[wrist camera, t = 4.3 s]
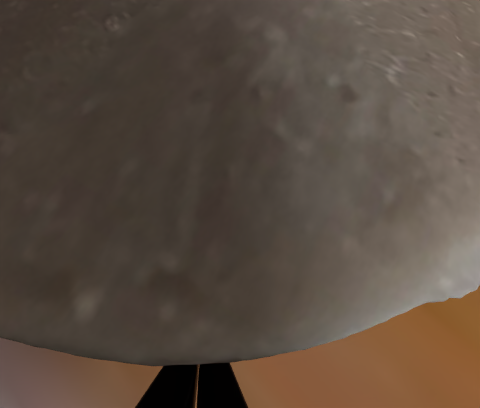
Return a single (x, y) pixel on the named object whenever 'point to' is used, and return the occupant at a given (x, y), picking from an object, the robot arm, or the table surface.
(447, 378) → the table surface
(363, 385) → the table surface
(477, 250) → the pillar candle
